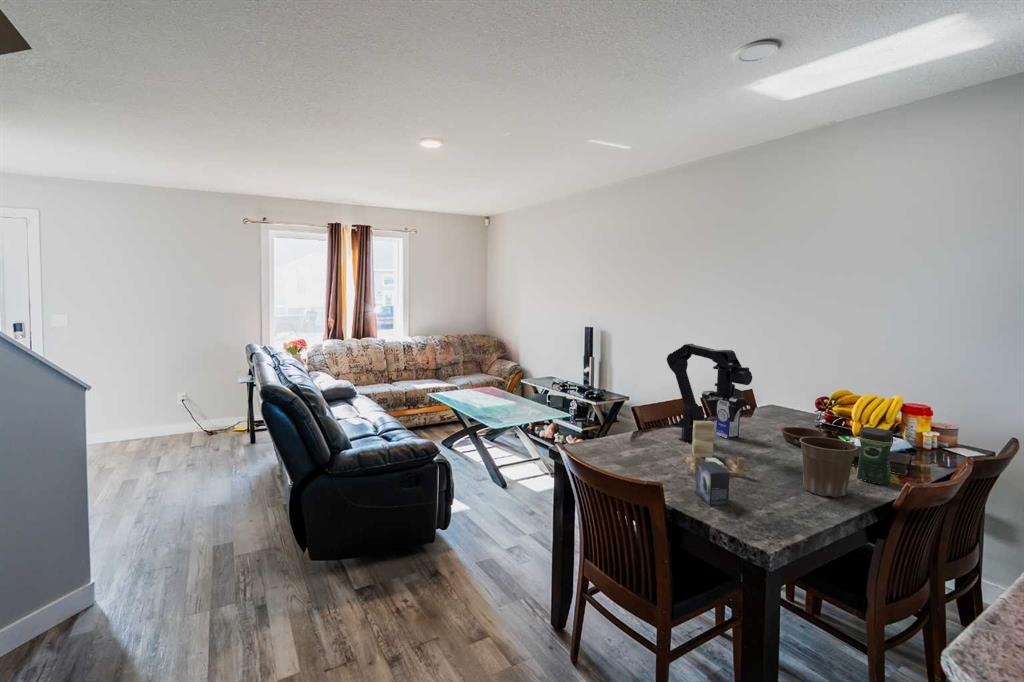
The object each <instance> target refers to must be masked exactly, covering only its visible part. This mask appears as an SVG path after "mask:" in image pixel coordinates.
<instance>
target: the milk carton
mask: <svg viewBox="0 0 1024 682" xmlns="http://www.w3.org/2000/svg"><path fill="white" fill-rule="evenodd" d="M721 398H722V397H721ZM731 398H734V397H731ZM728 406H730V404H729V402H727V401H723V400H719V401H718V403H717V409H716V425H715V427H716V428H715V436H716V435H718V436H717V437H719V436H722V437H724V438H723V439H725V438H727V439H726V440H729V439H728V438H734V439H737V438H736V437H740V436H739V435H740V421H741V408H740V409H739V411H738V412H737V414H736V416H735V419H734V421H733V422H730V418H729V409H728ZM722 437H721V438H722Z"/></svg>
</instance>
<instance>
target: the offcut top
mask: <svg viewBox="0 0 1024 682" xmlns="http://www.w3.org/2000/svg"><path fill="white" fill-rule="evenodd" d="M712 461H714V462H716V463H717V464H719V465H720V466H721V467H723V468H724V466H725V463H723V462H722V461H720V460H719V459H718V458H717V457H705V461H704V462H712Z"/></svg>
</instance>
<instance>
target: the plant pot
mask: <svg viewBox="0 0 1024 682" xmlns="http://www.w3.org/2000/svg"><path fill="white" fill-rule="evenodd" d="M800 442H801V446H800V449H801V450H800V451H801V453H802V480H803V481H802V482H803V483H802V484H803V485H802V486H803V488H804V490H806V491H807V492H809V493H811V494H813V493H814V495H816V494H817V495H818V496H822V497H828V496H829V497H832V498H842V497H841V496H843V497H845V496H846V495H847V491H848V488H849V487H848V486H849V481H850V476H851V471H852V467H853V466H852V461H853V460H854V456H855V451H856V450H857V449H858V447H857V446H858V445H856V444H854V443H851V442H849V441H846V440H841V439H838V438H832V437H803V438H800ZM817 495H816V496H817Z"/></svg>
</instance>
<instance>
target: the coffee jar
mask: <svg viewBox="0 0 1024 682" xmlns="http://www.w3.org/2000/svg"><path fill="white" fill-rule="evenodd" d="M858 436H859V437H858V440H859V443H860V446H861V450H860V457H859V463H858V467H857V469H856V478H857V479H858V478H859V480H860V479H862V480H861V481H863V480H866V481H870V482H874V483H873V484H875V483H880V484H879V485H888V483H889V484H890V483H891V476H892V475H891V474H892V473H891V472H890V452H891V448H892V446H893V444H894V433H893V430H892V429H891V430H890V429H885V428H878V427H873V426H867V425H865V426H863V427H861V429H860V432H859V435H858ZM866 481H865V482H866ZM870 482H869V483H870Z"/></svg>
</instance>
